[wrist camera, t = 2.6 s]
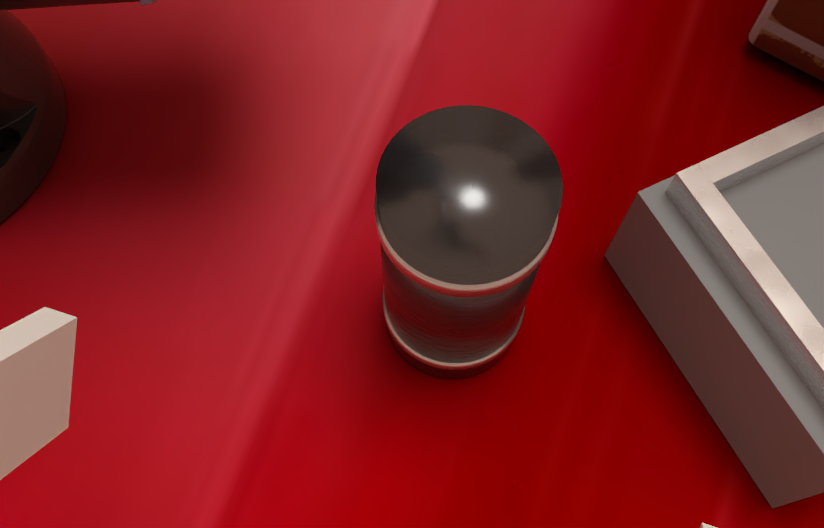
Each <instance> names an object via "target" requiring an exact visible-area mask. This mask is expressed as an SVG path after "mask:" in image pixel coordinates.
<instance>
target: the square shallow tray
mask: <svg viewBox="0 0 824 528" xmlns="http://www.w3.org/2000/svg"><path fill="white" fill-rule="evenodd" d="M674 177H675V175H674V176H672V177H670V178H668V179H666V180H663V181H661V182H659V183H657V184H655V185H652V186H650V187H648V188H646V189H644V190H642V191H639V192H638V193H637V195H636V196H635V198H634V200H633V202H632V204H631V206H630V208H629V210H628V212H627V213H626V215H625V217H624V219H623V221H622V223H621V225H620V227H619V229H618V230H617V232H616V234H615V236H614V238H613V240H612V242H611V244H610V246H609V247H608V249H607V251H606V253H605V255H604V256H605V257H606V259H607V260H608V262H609V263H610V265H611V266H612V268H613V269H614V271H615V272H616V274H617V275H618V277H619V278H620V280H621V281H622V283H623V284H624V286H625V287H626V289H627V290H628V292H629V293H630V295H631V296H632V298H633V299H634V301H635V302H636V304H637V305H638V307H639V308H640V310H641V311H642V313H643V314H644V316H645V317H646V319H647V320H648V322H649V323H650V325H651V326H652V328H653V329H654V331H655V333H656V334H657V336H658V337H659V339H660V340H661V342H662V343H663V345H664V346H665V348H666V349H667V351H668V352H669V354H670V355H671V357H672V358H673V360H674V361H675V363H676V364H677V366H678V367H679V369H680V370H681V372H682V373H683V375H684V376H685V378H686V379H687V381H688V382H689V384H690V385H691V387H692V388H693V390H694V391H695V393H696V394H697V396H698V397H699V399H700V400H701V402H702V403H703V405H704V406H705V408H706V409H707V411H708V412H709V414H710V415H711V417H712V418H713V420H714V421H715V423H716V424H717V426H718V427H719V429H720V430H721V432H722V433H723V435H724V436H725V438H726V439H727V441H728V443H729V444H730V446H731V447H732V449H733V450H734V452H735V453H736V455H737V456H738V458H739V459H740V461H741V462H742V464H743V465H744V467H745V468H746V470H747V471H748V473H749V474H750V476H751V477H752V479H753V480H754V482H755V483H756V485H757V486H758V488H759V489H760V491H761V492H762V494H763V495H764V497H765V498H766V500H767V501H768V503H769V504H770V506H771V507H772V508H775V507H778V506H782V505H785V504H788V503H791V502H794V501H798V500H801V499H804V498H807V497H811V496H814V495H817V494H820V493H823V492H824V410H823V409H822V407H821V406H820V405H819V403H818V402H817V400H816V399H815V398H814V396H813V395H812V394H811V392H810V391H809V389H808V388H807V387H806V385H805V384H804V383H803V381H802V380H801V378H800V377H799V376H798V374H797V373H796V372H795V370H794V369H793V367H792V366H791V365H790V363H789V362H788V361H787V359H786V358H785V356H784V355H783V354H782V352H781V351H780V350H779V348H778V347H777V345H776V344H775V343H774V341H773V340H772V339H771V337H770V336H769V334H768V333H767V332H766V330H765V329H764V328H763V326H762V325H761V323H760V322H759V321H758V319H757V318H756V317H755V315H754V314H753V312H752V311H751V310H750V308H749V307H748V306H747V304H746V303H745V301H744V300H743V299H742V297H741V296H740V295H739V293H738V292H737V290H736V289H735V288H734V286H733V285H732V284H731V282H730V281H729V279H728V278H727V277H726V275H725V274H724V273H723V271H722V270H721V268H720V267H719V266H718V264H717V263H716V262H715V260H714V259H713V257H712V256H711V255H710V253H709V252H708V251H707V249H706V248H705V246H704V245H703V244H702V242H701V241H700V240H699V238H698V237H697V236H696V234H695V233H694V231H693V230H692V229H691V227H690V226H689V225H688V223H687V222H686V220H685V219H684V218H683V216H682V215H681V214H680V212H679V211H678V209H677V208H676V207H675V205H674V204H673V203H672V201H671V200H670V198H669V197H668V196H667V194H666V193H665V192H666V190H667V188H668V187H669V185H670V183H671V182H672V180H673V178H674ZM720 193H721V195H722V196H723V197H724V198H725V200H726V201H727V202H728V204H729V205H730V206H731V208H732V209H733V210H734V212H735V213H736V214H737V216H738V217H739V218H740V220H741V221H742V222H743V223H744V225H745V226H746V227H747V229H748V230H749V231H750V233H751V234H752V235H753V237H754V238H755V239H756V241H757V242H758V243H759V244H760V246H761V247H762V248H763V250H764V251H765V252H766V254H767V255H768V256H769V258H770V259H771V260H772V262H773V263H774V264H775V265H776V267H777V268H778V269H779V271H780V272H781V273H782V275H783V276H784V277H785V279H786V280H787V281H788V283H789V284H790V285H791V286H792V288H793V289H794V290H795V292H796V293H797V294H798V296H799V297H800V298H801V300H802V301H803V302H804V304H805V305H806V306H807V307H808V309H809V310H810V311H811V313H812V314H813V315H814V317H815V318H816V319H817V321H818V322H819V323H820V325H821V326H822V327H823V328H824V144H822V145H820V146H818V147H816V148H814V149H812V150H810V151H807V152H805V153H803V154H801V155H799V156H797V157H795V158H793V159H790V160H788V161H786V162H784V163H782V164H780V165H778V166H775V167H773V168H771V169H769V170H767V171H765V172H763V173H761V174H758V175H756V176H754V177H752V178H750V179H748V180H746V181H743V182H741V183H739V184H737V185H735V186H733V187H731V188H729V189H726V190H724V191H722V192H720Z"/></svg>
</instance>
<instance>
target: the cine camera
mask: <svg viewBox="0 0 824 528" xmlns="http://www.w3.org/2000/svg"><path fill="white" fill-rule="evenodd" d="M749 41H750V42H751V43H752V45H754V46H755V47H757V48H758V49H760V50H762V51H764V52H766V53H768V54H770V55H772V56H774V57H776V58H778V59H780V60H782V61H784V62H786V63H788V64H790V65H792V66H794V67H796V68H798V69H800V70H801V71H803V72H805V73H807V74H809V75H811V76H813V77H815V78H817V79H819V80H821V81H823V82H824V0H767V1H766V2H765V4H764V6H763V8H762V10H761V12H760V13H759V15H758V17H757V19H756V21H755V23H754V25H753V26H752V29H751V31H750V33H749Z"/></svg>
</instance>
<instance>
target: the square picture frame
mask: <svg viewBox="0 0 824 528" xmlns="http://www.w3.org/2000/svg"><path fill="white" fill-rule="evenodd" d="M822 144H824V106H822V107H820V108H818V109H816V110H813V111H811V112H809V113H807V114H805V115H802V116H800V117H798V118H796V119H794V120H792V121H789V122H787V123H785V124H783V125H781V126H778V127H776V128H774V129H772V130H770V131H767V132H765V133H763V134H761V135H759V136H757V137H754V138H752V139H750V140H748V141H746V142H743V143H741V144H739V145H737V146H735V147H732V148H730V149H728V150H726V151H724V152H722V153H719V154H717V155H715V156H713V157H711V158H708V159H706V160H704V161H702V162H700V163H697V164H695V165H693V166H691V167H689V168H687V169H684V170H682V171H680V172H678V173H676V175H675V177H674V178H673V180H672V182H671V183H670V185H669V187H668V188H667V190H666V192H665V193H666V194H667V196H668V197H669V198H670V200H671V201H672V203H673V204H674V205H675V207H676V208H677V209H678V211H679V212H680V214H681V215H682V216H683V218H684V219H685V220H686V222H687V223H688V225H689V226H690V227H691V229H692V230H693V231H694V233H695V234H696V236H697V237H698V238H699V240H700V241H701V242H702V244H703V245H704V246H705V248H706V249H707V251H708V252H709V253H710V255H711V256H712V257H713V259H714V260H715V262H716V263H717V264H718V266H719V267H720V268H721V270H722V271H723V273H724V274H725V275H726V277H727V278H728V279H729V281H730V282H731V284H732V285H733V286H734V288H735V289H736V290H737V292H738V293H739V295H740V296H741V297H742V299H743V300H744V301H745V303H746V304H747V306H748V307H749V308H750V310H751V311H752V312H753V314H754V315H755V317H756V318H757V319H758V321H759V322H760V323H761V325H762V326H763V328H764V329H765V330H766V332H767V333H768V334H769V336H770V337H771V339H772V340H773V341H774V343H775V344H776V345H777V347H778V348H779V350H780V351H781V352H782V354H783V355H784V356H785V358H786V359H787V361H788V362H789V363H790V365H791V366H792V367H793V369H794V370H795V372H796V373H797V374H798V376H799V377H800V378H801V380H802V381H803V383H804V384H805V385H806V387H807V388H808V389H809V391H810V392H811V394H812V395H813V396H814V398H815V399H816V400H817V402H818V403H819V405H820V406H821V407H822V409H823V410H824V328H823V327H822V326H821V325H820V323H819V322H818V321H817V319H816V318H815V317H814V315H813V314H812V313H811V311H810V310H809V309H808V307H807V306H806V305H805V304H804V302H803V301H802V300H801V298H800V297H799V296H798V294H797V293H796V292H795V290H794V289H793V288H792V286H791V285H790V284H789V283H788V281H787V280H786V279H785V277H784V276H783V275H782V273H781V272H780V271H779V269H778V268H777V267H776V265H775V264H774V263H773V262H772V260H771V259H770V258H769V256H768V255H767V254H766V252H765V251H764V250H763V248H762V247H761V246H760V244H759V243H758V242H757V241H756V239H755V238H754V237H753V235H752V234H751V233H750V231H749V230H748V229H747V227H746V226H745V225H744V223H743V222H742V221H741V220H740V218H739V217H738V216H737V214H736V213H735V212H734V210H733V209H732V208H731V206H730V205H729V204H728V202H727V201H726V200H725V198H724V197H723V196H722V195H721V193H720V192H722V191H724V190H726V189H729V188H731V187H733V186H735V185H737V184H739V183H741V182H743V181H746V180H748V179H750V178H752V177H754V176H756V175H758V174H761V173H763V172H765V171H767V170H769V169H771V168H773V167H775V166H778V165H780V164H782V163H784V162H786V161H788V160H790V159H793V158H795V157H797V156H799V155H801V154H803V153H805V152H807V151H810V150H812V149H814V148H816V147H818V146H820V145H822Z"/></svg>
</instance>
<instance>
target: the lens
mask: <svg viewBox="0 0 824 528" xmlns="http://www.w3.org/2000/svg"><path fill="white" fill-rule="evenodd" d="M562 193H563V184H562V176H561V172H560V168H559V165H558V162H557V160H556V157H555V155H554V154H553V152H552V150H551V149H550V147H549V146H548V144H547V143H546V142H545V140H544V139H543V138H542V137H541V136H540V135H539V134H538V133H537V132H536V131H535V130H534V129H532V128H531V127H530V126H529V125H527V124H526V123H524V122H523V121H521V120H519V119H518V118H516V117H514V116H511V115H509V114H507V113H505V112H502V111H499V110H496V109H491V108H487V107H481V106H452V107H446V108H442V109H437V110H434V111H432V112H429V113H426V114H424V115H422V116H420V117H418V118H416V119H414V120H413V121H411V122H410V123H408V124H407V125H406V126H404V127H403V128H402V129H401V130H400V131H399V132H398V133H397V134H396V135H395V136H394V137H393V138H392V139H391V141H390V142H389V144H388V145H387V147H386V148H385V150H384V152H383V154H382V156H381V159H380V162H379V165H378V169H377V175H376V195H375V219H376V227H377V232H378V236H379V239H380V245H381V257H382V270H383V282H384V289H383V309H384V316H385V320H386V323H387V328H388V332H389V335H390V338H391V340H392V342H393V344H394V346H395V348H396V349H397V351H398V352H399V353H400V355H401V356H402V357H403V358H404V359H405V360H406V361H407V362H408V363H409V364H411V365H412V366H413V367H415V368H416V369H418V370H420V371H422V372H423V373H426V374H428V375H431V376H435V377H439V378H445V379H460V378H467V377H471V376H475V375H477V374H479V373H482V372H484V371H486V370H487V369H489V368H491V367H492V366H493V365H494V364H496V363H497V362H498V361H499V360H500V359H501V358H502V357H503V355H504V354H505V353H506V351H507V350H508V348H509V346H510V344H511V342H512V341H513V339H514V338H515V336H516V334H517V332H518V330H519V327H520V325H521V322H522V319H523V315H524V310H525V304H526V301H527V298H528V296H529V293H530V290H531V287H532V285H533V282H534V279H535V276H536V273H537V271H538V268H539V265H540V262H541V261H542V260H543V258H544V256H545V255H546V253H547V251H548V249H549V246H550V243H551V241H552V238H553V235H554V233H555V230H556V225H557V221H558V213H559V210H560V206H561V201H562Z"/></svg>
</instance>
